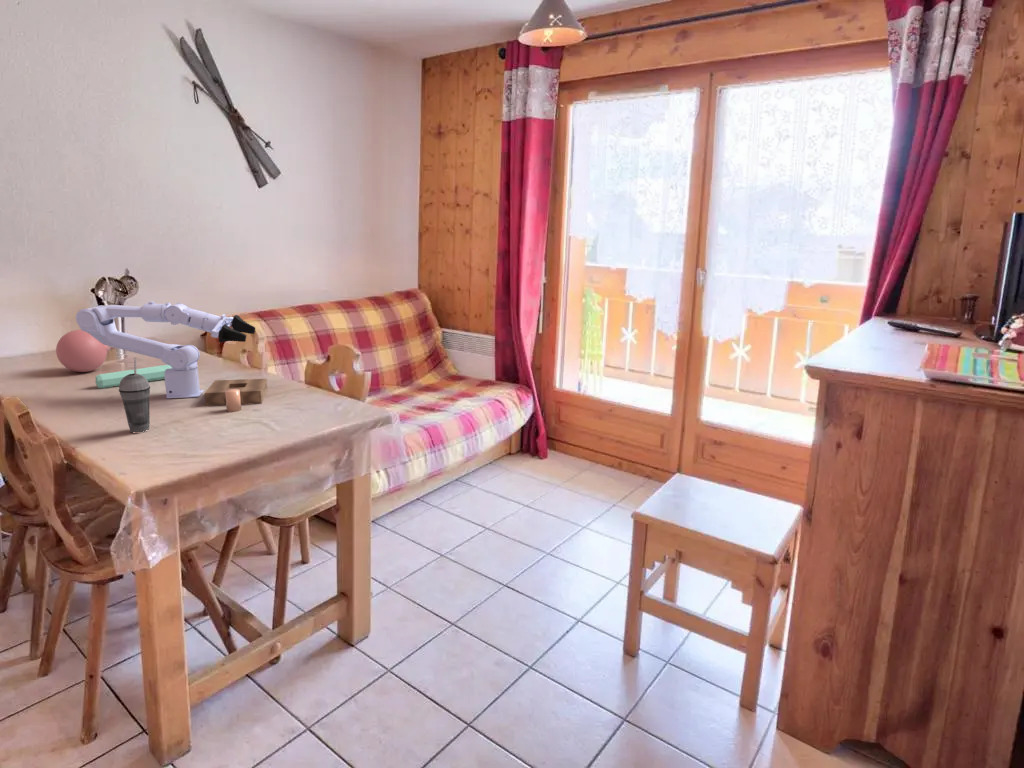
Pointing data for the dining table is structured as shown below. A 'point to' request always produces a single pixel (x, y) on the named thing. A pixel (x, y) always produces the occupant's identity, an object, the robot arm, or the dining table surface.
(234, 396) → the terracotta plug
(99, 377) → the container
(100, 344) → the balloon
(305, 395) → the dining table surface
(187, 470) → the dining table surface
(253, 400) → the walnut bore block
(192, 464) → the dining table surface
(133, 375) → the beverage cup
